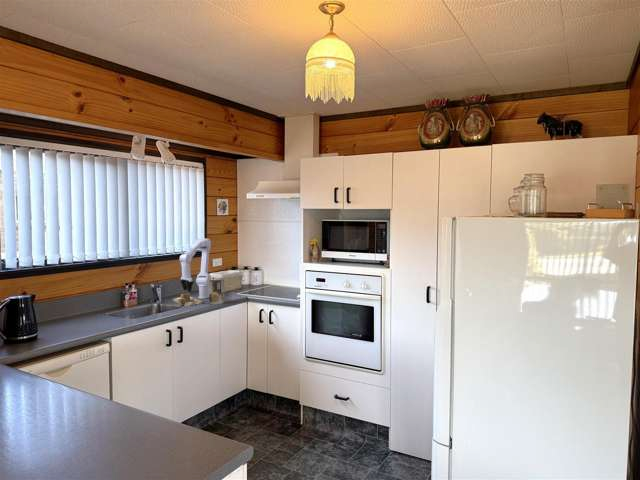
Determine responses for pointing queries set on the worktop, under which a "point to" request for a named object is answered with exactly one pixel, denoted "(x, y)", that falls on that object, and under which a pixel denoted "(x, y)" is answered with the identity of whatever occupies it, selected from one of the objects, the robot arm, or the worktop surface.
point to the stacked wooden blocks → (184, 299)
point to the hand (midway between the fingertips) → (187, 290)
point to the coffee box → (216, 291)
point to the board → (189, 301)
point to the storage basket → (229, 279)
